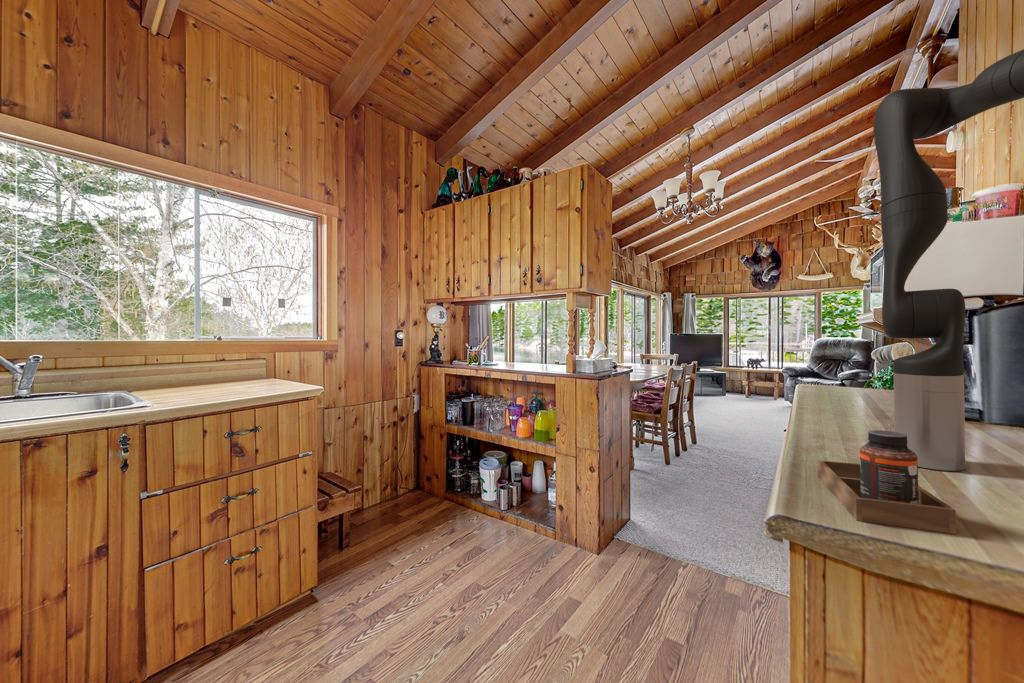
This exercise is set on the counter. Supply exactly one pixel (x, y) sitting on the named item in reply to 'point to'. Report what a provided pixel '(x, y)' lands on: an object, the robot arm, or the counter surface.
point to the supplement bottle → (888, 468)
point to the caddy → (885, 502)
